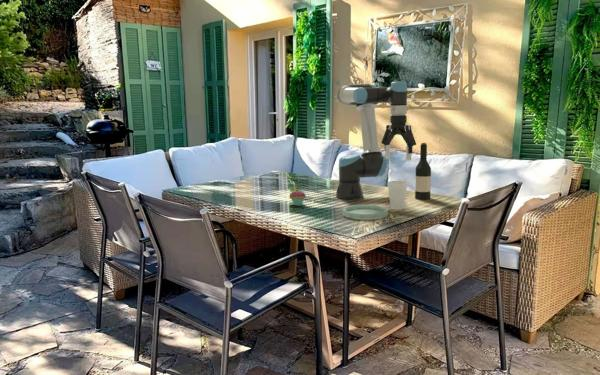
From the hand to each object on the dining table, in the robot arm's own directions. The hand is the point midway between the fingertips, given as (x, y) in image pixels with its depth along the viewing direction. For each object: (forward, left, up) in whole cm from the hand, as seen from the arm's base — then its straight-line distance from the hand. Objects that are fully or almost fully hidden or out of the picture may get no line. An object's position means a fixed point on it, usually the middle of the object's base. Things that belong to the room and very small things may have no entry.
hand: (397, 159), depth 217 cm
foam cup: (0, 0, -24) cm, 24 cm away
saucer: (-9, -19, -24) cm, 32 cm away
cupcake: (-50, -12, -24) cm, 57 cm away
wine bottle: (+4, +30, -24) cm, 39 cm away
